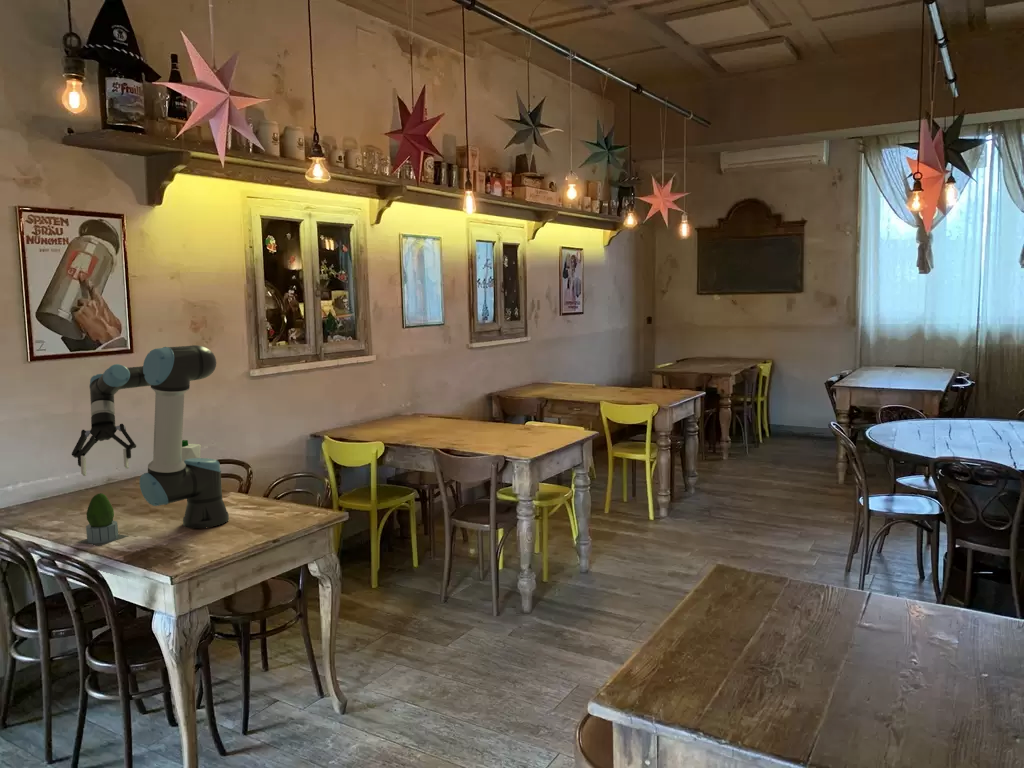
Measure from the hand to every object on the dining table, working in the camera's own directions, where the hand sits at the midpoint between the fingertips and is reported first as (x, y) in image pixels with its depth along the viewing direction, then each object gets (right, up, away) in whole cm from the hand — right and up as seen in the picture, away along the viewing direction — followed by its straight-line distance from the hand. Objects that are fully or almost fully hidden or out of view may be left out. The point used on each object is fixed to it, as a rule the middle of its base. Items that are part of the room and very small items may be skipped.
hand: (105, 470), depth 259 cm
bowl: (+5, -21, -11) cm, 25 cm away
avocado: (+5, -18, -12) cm, 22 cm away
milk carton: (+5, -14, +56) cm, 58 cm away
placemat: (+5, -22, -11) cm, 25 cm away
